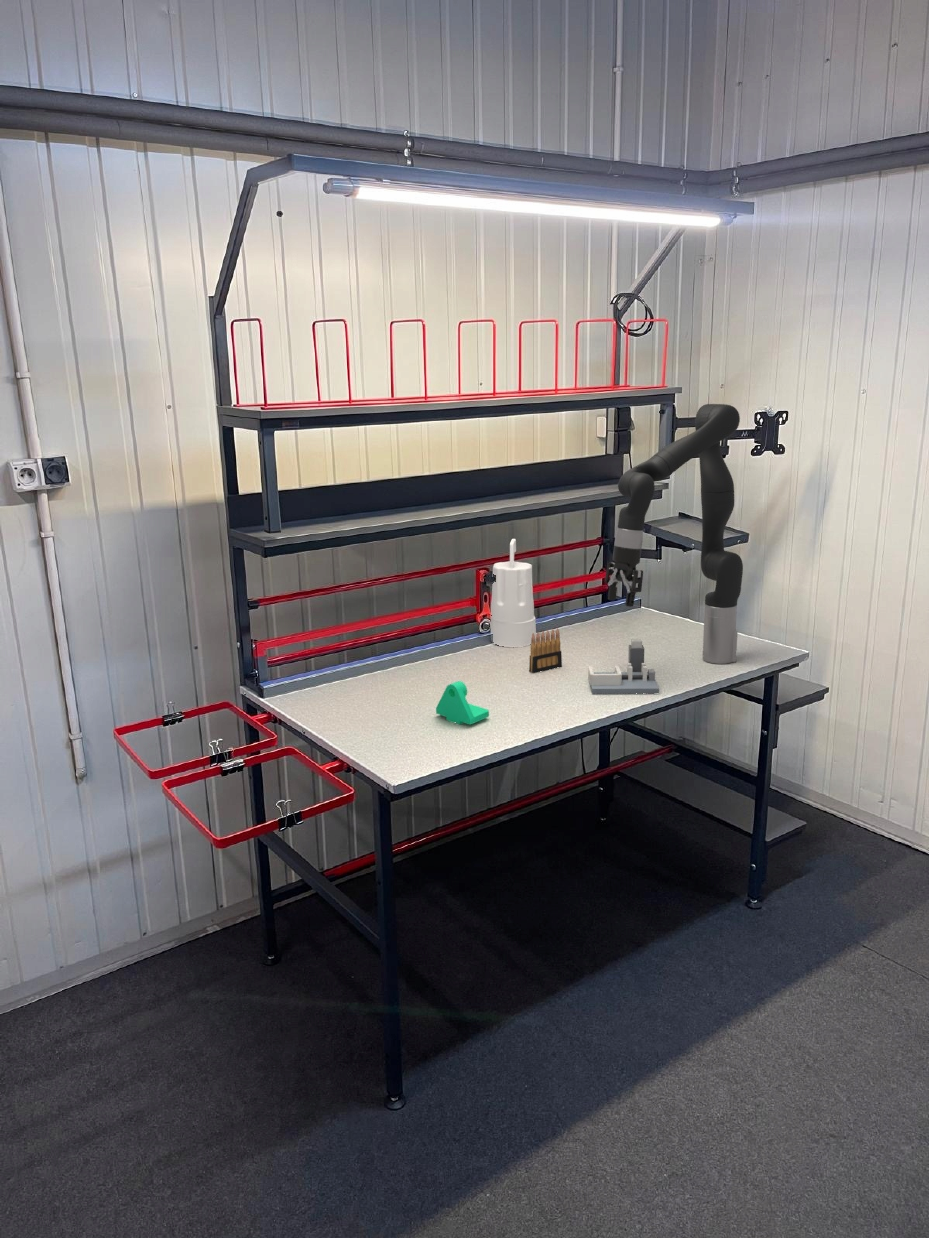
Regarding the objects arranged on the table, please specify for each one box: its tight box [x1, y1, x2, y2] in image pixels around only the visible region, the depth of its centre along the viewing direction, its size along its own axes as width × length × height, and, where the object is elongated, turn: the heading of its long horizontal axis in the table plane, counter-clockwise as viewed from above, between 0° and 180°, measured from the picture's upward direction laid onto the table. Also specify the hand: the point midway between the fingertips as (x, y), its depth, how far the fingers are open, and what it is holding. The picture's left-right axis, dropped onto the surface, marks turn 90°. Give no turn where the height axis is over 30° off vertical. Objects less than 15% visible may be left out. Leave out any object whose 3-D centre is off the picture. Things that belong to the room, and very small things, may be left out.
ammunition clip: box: [528, 627, 563, 674], centre depth 266 cm, size 11×2×12 cm, turn 121°
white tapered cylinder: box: [490, 538, 537, 648], centre depth 293 cm, size 15×15×33 cm
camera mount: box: [435, 680, 490, 725], centre depth 230 cm, size 12×8×10 cm, turn 46°
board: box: [587, 662, 660, 695], centre depth 251 cm, size 18×14×6 cm
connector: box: [627, 638, 645, 672], centre depth 260 cm, size 4×4×10 cm
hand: (620, 603), depth 251 cm, fingers open, 8 cm apart
